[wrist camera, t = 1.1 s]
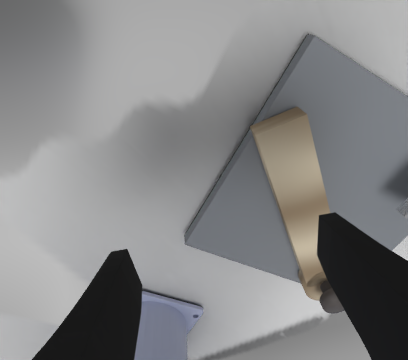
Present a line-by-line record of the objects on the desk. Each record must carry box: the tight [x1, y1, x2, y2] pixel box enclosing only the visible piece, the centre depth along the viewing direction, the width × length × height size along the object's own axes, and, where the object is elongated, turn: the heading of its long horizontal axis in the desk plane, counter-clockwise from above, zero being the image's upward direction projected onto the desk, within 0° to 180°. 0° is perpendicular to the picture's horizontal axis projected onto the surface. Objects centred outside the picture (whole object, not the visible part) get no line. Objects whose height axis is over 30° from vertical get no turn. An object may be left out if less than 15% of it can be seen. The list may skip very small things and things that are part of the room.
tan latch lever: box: [250, 107, 344, 313], centre depth 20 cm, size 16×4×3 cm, turn 22°
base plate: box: [184, 34, 408, 283], centre depth 22 cm, size 16×16×1 cm
